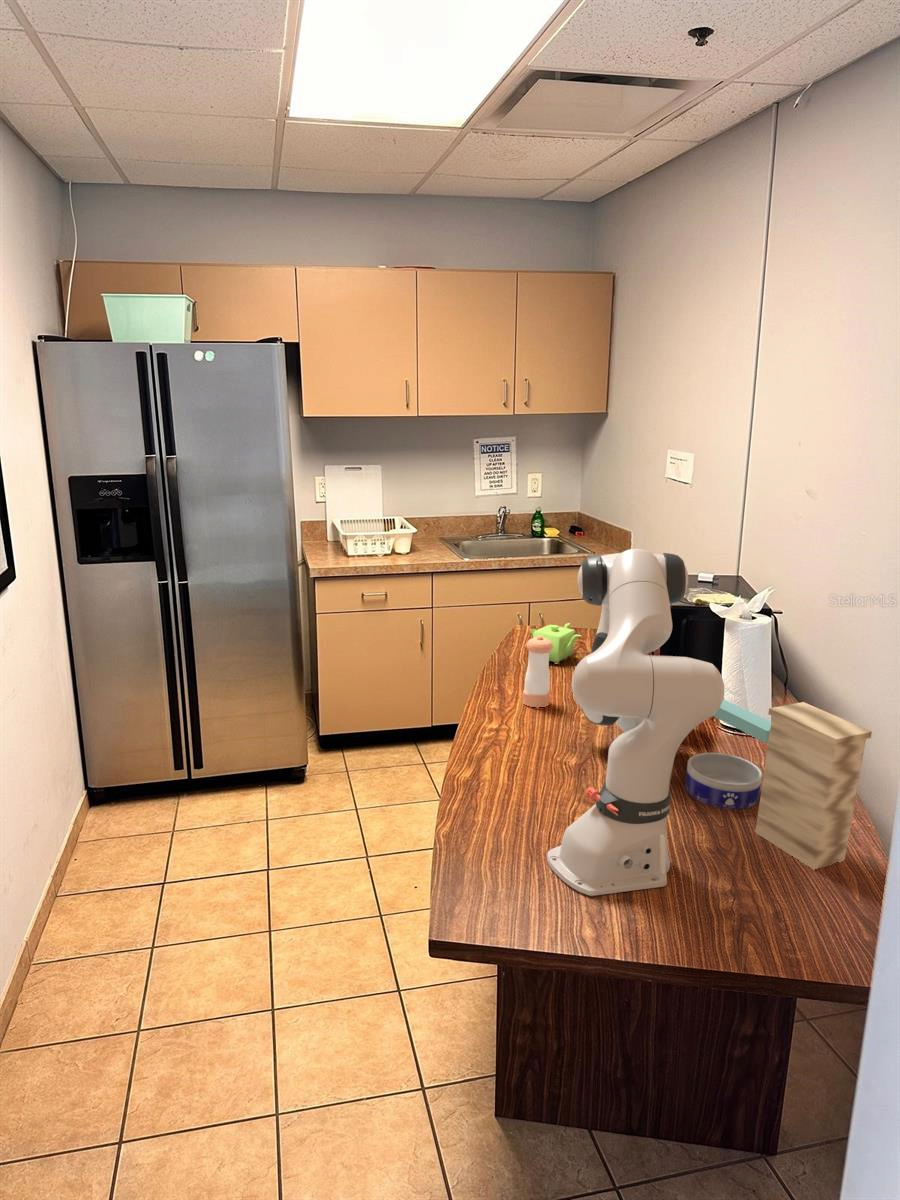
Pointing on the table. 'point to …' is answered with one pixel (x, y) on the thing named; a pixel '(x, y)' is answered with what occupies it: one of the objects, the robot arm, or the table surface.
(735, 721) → the slat
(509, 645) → the table surface
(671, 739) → the robot arm
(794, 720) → the beige block
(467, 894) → the table surface
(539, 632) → the kettle
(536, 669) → the salt shaker
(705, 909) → the table surface
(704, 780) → the dog bowl
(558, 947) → the table surface
